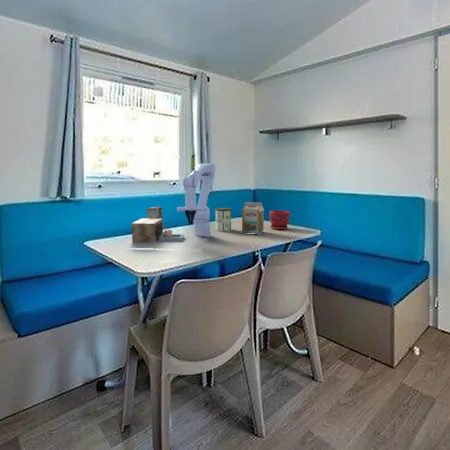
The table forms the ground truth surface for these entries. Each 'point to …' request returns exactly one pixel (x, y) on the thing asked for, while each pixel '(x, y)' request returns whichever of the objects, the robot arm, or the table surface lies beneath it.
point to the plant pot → (279, 219)
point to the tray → (174, 237)
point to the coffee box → (155, 213)
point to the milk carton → (252, 218)
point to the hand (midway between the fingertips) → (190, 224)
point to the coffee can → (223, 219)
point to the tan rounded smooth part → (168, 233)
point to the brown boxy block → (147, 230)
